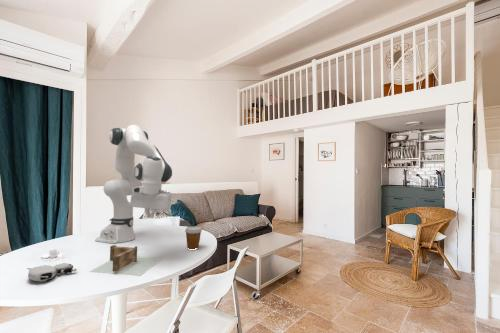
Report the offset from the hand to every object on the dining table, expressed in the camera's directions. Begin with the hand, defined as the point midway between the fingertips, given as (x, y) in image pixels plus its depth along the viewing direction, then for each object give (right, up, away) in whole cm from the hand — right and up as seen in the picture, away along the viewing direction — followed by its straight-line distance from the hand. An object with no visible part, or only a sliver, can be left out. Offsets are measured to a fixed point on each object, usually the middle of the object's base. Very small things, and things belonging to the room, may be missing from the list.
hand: (150, 217), depth 119 cm
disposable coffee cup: (+15, -23, +24) cm, 37 cm away
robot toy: (-34, -22, -17) cm, 44 cm away
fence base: (-13, -22, +1) cm, 25 cm away
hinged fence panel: (-9, -21, -7) cm, 24 cm away
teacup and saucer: (-52, -22, +6) cm, 57 cm away
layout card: (-9, -22, -4) cm, 24 cm away
